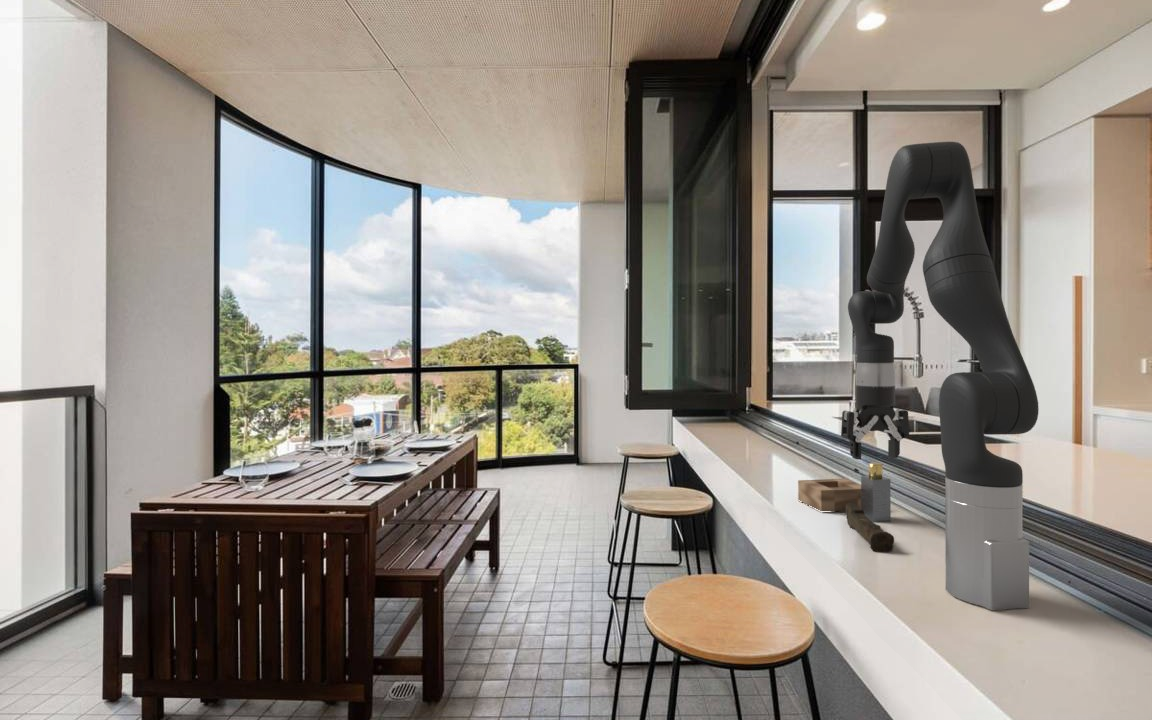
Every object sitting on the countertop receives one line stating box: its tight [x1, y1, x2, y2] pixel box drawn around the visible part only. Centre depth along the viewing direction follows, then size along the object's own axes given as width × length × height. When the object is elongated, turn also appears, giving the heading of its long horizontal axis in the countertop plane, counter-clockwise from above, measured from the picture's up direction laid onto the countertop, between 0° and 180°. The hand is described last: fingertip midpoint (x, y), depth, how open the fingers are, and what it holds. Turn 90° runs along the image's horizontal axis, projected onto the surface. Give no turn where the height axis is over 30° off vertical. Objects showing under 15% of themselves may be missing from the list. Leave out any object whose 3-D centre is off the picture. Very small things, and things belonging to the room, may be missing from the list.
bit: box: [860, 462, 892, 523], centre depth 120 cm, size 4×4×12 cm
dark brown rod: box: [845, 503, 895, 553], centre depth 109 cm, size 19×4×5 cm, turn 169°
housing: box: [797, 478, 861, 512], centre depth 130 cm, size 10×12×5 cm
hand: (875, 458), depth 120 cm, fingers open, 8 cm apart
